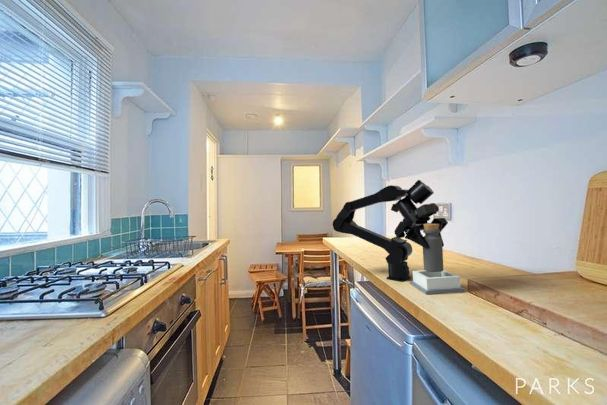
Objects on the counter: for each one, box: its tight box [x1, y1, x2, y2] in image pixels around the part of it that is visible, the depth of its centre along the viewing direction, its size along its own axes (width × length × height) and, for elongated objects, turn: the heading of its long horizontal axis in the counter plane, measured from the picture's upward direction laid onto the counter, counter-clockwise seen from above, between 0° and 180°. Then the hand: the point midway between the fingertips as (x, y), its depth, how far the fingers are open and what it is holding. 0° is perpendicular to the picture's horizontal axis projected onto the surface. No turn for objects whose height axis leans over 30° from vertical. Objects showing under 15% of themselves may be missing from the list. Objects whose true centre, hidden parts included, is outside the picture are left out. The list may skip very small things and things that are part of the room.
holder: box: [409, 269, 466, 295], centre depth 93 cm, size 12×12×4 cm
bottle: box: [422, 224, 444, 272], centre depth 93 cm, size 6×6×15 cm
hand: (435, 247), depth 92 cm, fingers closed on bottle, 6 cm apart
